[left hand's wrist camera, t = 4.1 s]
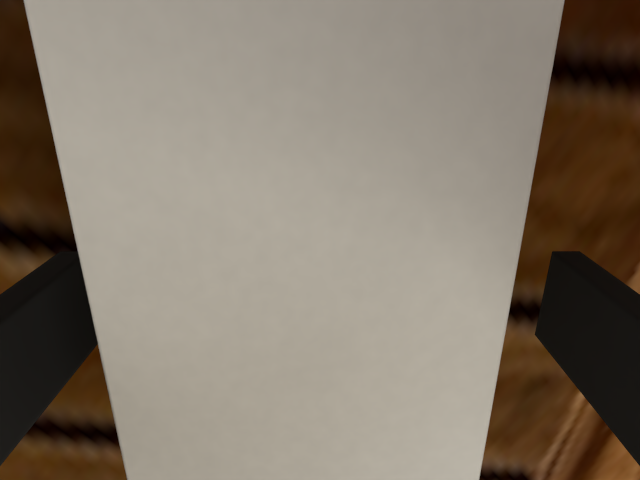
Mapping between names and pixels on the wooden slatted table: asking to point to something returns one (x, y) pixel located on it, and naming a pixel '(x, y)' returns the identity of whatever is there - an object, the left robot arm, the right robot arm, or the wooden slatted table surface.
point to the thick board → (298, 223)
